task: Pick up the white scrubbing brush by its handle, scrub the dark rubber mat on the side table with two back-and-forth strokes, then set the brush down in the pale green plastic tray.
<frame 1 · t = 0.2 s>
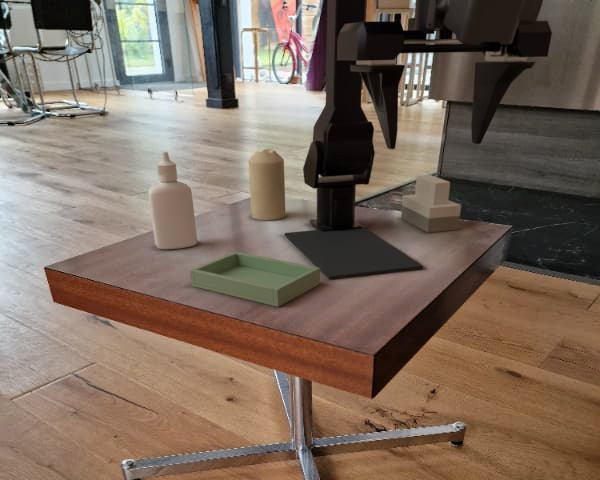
hand: (434, 146, 56), 15 cm above the table, tool pointing down, fingers open, 9 cm apart
eye dropper bottle: (176, 247, 79), on the table
mat: (347, 250, 76), on the table
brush: (428, 223, 87), on the table
candle: (268, 217, 93), on the table
tray: (255, 285, 65), on the table
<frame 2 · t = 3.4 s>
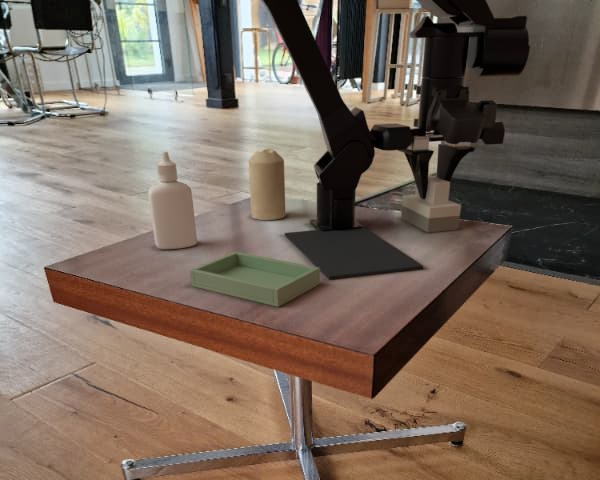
hand: (431, 197, 85), 4 cm above the table, tool pointing down, fingers closed on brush, 2 cm apart
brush: (428, 223, 87), on the table, touching gripper
everything else where it was.
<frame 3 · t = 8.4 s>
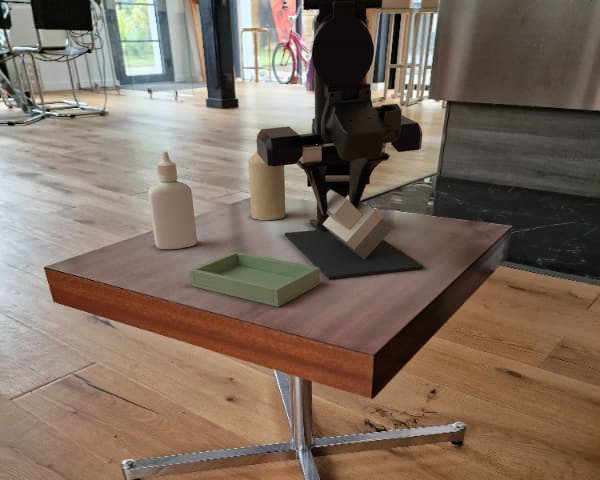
hand: (338, 212, 72), 5 cm above the table, tool pointing down, fingers closed on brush, 3 cm apart
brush: (364, 235, 74), point 2 cm above the table, tilted 45°, touching gripper, mat
everything else where it was.
when the fingers open (4 cm above the table, at t = 14.4 s): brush stays where it is, resting on tray.
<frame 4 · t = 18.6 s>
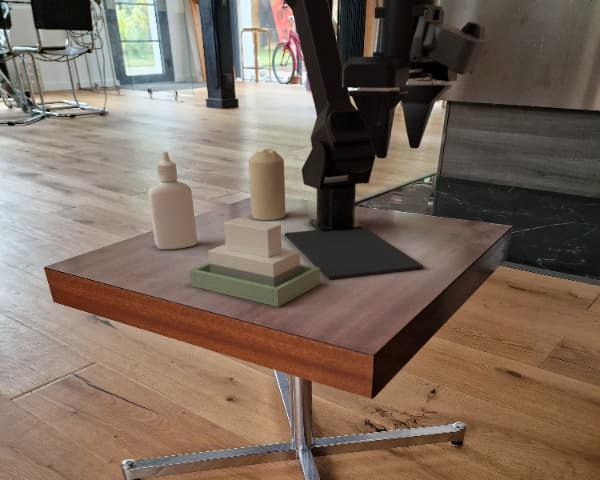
hand: (398, 152, 69), 12 cm above the table, tool pointing down, fingers open, 9 cm apart
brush: (255, 281, 65), resting on tray
everything else where it was.
at the end: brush inside the target area in the tray (0.1 cm from its centre), point 0.4 cm above the tray's base; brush tilted 0°; the gripper is holding nothing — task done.
